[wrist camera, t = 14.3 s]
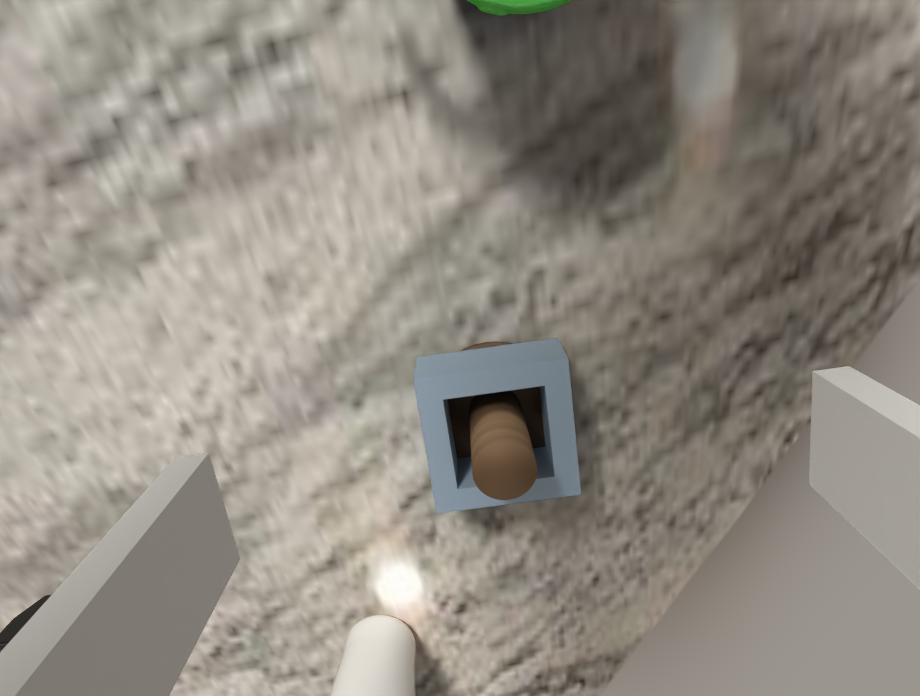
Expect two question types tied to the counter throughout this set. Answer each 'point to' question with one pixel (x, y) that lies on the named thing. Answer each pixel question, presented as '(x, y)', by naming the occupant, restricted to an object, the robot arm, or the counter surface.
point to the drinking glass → (377, 659)
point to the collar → (490, 375)
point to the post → (499, 437)
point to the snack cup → (516, 6)
